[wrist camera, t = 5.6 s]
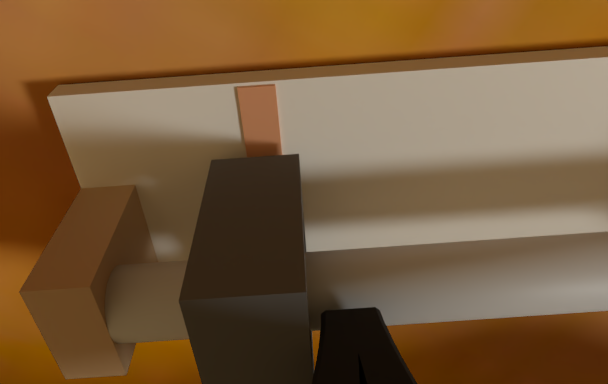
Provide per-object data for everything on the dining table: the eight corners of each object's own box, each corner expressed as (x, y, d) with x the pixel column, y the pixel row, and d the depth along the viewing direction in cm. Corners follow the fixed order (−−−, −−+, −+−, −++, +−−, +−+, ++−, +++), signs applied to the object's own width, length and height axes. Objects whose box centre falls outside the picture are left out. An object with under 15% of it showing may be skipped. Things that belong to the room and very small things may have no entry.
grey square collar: (298, 153, 14) (306, 291, 9) (309, 290, 17) (318, 443, 12) (211, 160, 14) (178, 300, 9) (237, 295, 17) (220, 449, 12)
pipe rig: (860, 27, 14) (1116, 107, 10) (725, 271, 19) (853, 393, 15) (58, 84, 14) (-41, 187, 10) (138, 310, 19) (96, 443, 15)
